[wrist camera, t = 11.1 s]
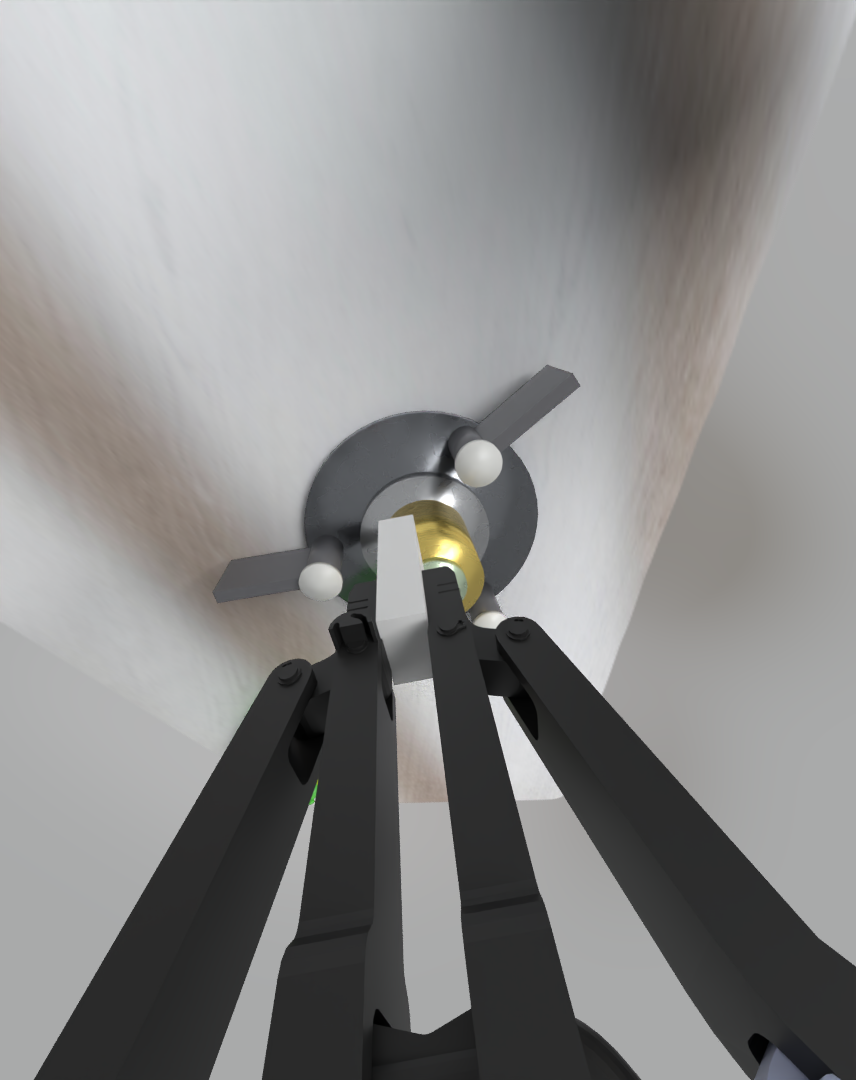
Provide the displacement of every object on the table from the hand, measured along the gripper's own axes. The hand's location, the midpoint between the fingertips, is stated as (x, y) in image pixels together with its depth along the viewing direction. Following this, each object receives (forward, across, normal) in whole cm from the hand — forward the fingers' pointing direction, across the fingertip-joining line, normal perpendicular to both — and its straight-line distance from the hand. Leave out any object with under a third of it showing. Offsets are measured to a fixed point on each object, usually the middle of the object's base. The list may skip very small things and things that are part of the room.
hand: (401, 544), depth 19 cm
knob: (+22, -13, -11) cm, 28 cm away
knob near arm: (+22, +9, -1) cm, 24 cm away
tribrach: (+23, +1, -12) cm, 26 cm away
